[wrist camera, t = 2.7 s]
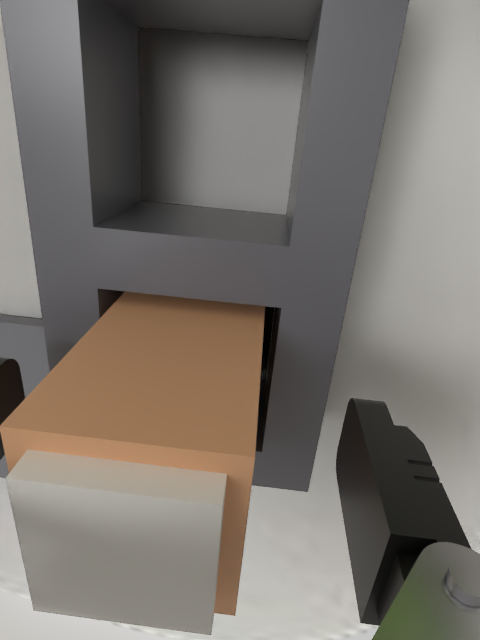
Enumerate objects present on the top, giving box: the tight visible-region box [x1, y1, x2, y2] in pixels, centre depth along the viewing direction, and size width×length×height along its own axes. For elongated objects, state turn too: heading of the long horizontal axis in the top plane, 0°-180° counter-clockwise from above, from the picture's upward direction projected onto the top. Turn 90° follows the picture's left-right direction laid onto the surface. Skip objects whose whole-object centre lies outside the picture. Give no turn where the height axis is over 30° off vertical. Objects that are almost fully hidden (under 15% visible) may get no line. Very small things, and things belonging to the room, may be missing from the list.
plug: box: [0, 291, 265, 635], centre depth 11 cm, size 4×4×10 cm
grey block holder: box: [0, 0, 409, 492], centre depth 12 cm, size 8×14×4 cm, turn 175°
